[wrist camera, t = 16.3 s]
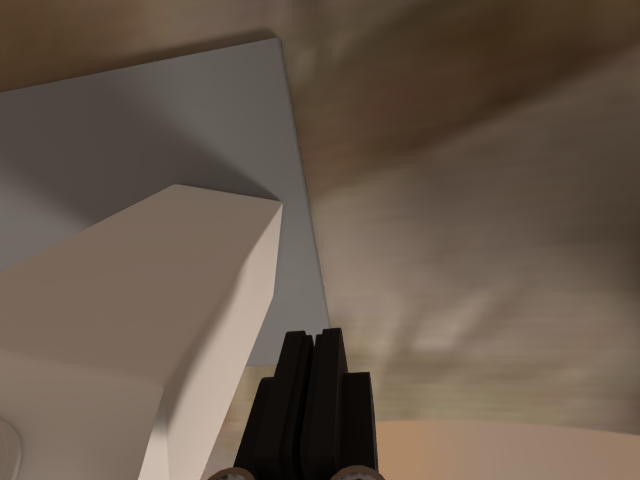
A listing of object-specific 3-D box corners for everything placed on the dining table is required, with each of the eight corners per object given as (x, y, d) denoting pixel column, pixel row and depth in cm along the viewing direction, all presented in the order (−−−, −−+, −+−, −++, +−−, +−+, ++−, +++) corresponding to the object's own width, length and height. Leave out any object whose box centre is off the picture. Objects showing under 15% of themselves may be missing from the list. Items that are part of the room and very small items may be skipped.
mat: (280, 39, 19) (277, 37, 18) (335, 353, 27) (334, 361, 26) (-125, 119, 23) (-141, 120, 22) (30, 372, 31) (23, 378, 30)
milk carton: (274, 295, 25) (79, 786, 7) (177, 278, 25) (-242, 716, 7) (284, 200, 22) (0, 637, 4) (174, 182, 22) (-523, 528, 4)
